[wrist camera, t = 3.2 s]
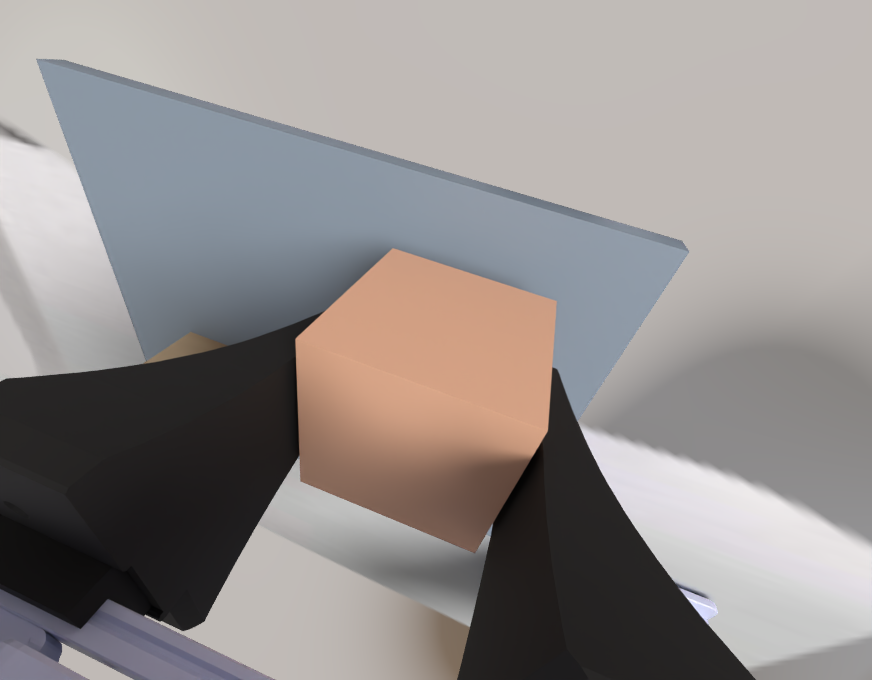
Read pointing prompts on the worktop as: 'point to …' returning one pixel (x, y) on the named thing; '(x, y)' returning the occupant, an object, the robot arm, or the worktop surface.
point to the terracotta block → (425, 395)
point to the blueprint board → (324, 225)
